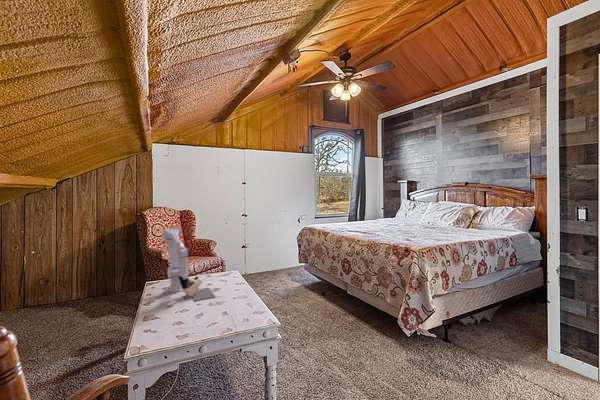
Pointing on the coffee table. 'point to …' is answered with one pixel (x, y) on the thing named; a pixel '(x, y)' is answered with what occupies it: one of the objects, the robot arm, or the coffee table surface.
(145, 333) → the coffee table surface
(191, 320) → the coffee table surface
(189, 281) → the medicine box
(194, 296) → the grey flat slab
